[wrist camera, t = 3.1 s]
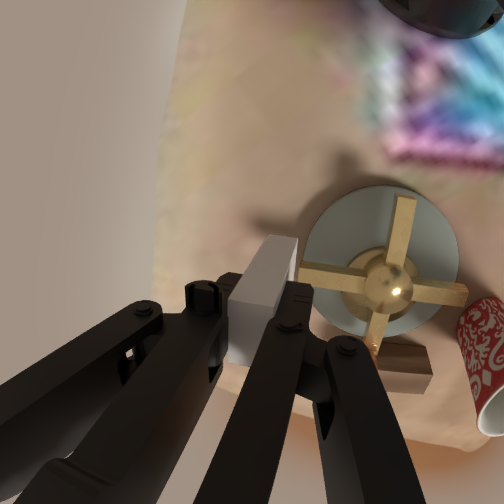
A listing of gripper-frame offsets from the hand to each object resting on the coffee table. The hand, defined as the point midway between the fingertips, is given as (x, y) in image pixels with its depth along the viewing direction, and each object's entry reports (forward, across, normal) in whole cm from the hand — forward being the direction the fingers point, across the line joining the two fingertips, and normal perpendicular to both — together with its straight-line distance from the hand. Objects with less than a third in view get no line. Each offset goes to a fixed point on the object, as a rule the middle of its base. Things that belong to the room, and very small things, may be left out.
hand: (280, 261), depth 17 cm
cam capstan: (+14, +8, -6) cm, 17 cm away
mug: (+16, +24, -12) cm, 31 cm away
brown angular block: (+16, +12, -17) cm, 26 cm away
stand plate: (+16, +8, -6) cm, 18 cm away
